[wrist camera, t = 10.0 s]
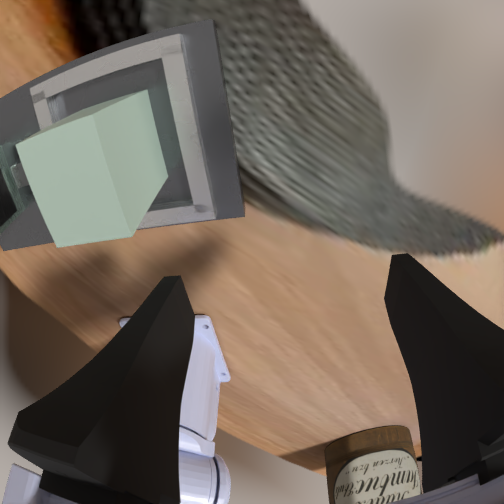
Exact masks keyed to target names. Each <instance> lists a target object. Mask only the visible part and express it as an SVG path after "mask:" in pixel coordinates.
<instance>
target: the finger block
mask: <svg viewBox="0 0 504 504" xmlns="http://www.w3.org/2000/svg"><path fill="white" fill-rule="evenodd" d="M16 148H17V151H18V154H19V157H20V160H21V163H22V166H23V169H24V171H25V174H26V177H27V179H28V182H29V185H30V187H31V190H32V192H33V195H34V197H35V200H36V202H37V204H38V207H39V209H40V211H41V214H42V216H43V218H44V220H45V223H46V225H47V227H48V229H49V231H50V234H51V236H52V238H53V240H54V242H55V244H56V246H57V248H59V247H65V246H72V245H79V244H86V243H92V242H99V241H106V240H114V239H121V238H128V237H132V236H133V235H134V233H135V231H136V229H137V228H138V226H139V224H140V222H141V221H142V219H143V217H144V216H145V214H146V212H147V210H148V209H149V207H150V205H151V204H152V202H153V200H154V199H155V197H156V196H157V194H158V192H159V191H160V189H161V187H162V186H163V184H164V183H165V181H166V179H167V178H168V174H167V170H166V166H165V162H164V158H163V154H162V150H161V146H160V142H159V138H158V134H157V130H156V126H155V121H154V117H153V113H152V108H151V104H150V99H149V95H148V90H143V91H139V92H136V93H132V94H129V95H125V96H122V97H119V98H115V99H112V100H109V101H106V102H103V103H100V104H97V105H94V106H91V107H88V108H85V109H82V110H80V111H78V112H76V113H74V114H72V115H70V116H68V117H66V118H64V119H62V120H60V121H58V122H56V123H54V124H52V125H50V126H48V127H46V128H44V129H42V130H40V131H39V132H37V133H35V134H33V135H31V136H30V137H28V138H26V139H24V140H23V141H21V142H19V143H18V144H16Z"/></svg>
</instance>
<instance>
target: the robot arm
mask: <svg viewBox="0 0 504 504" xmlns="http://www.w3.org/2000/svg"><path fill="white" fill-rule="evenodd" d="M384 300H385V304H386V308H387V313H388V316H389V320H390V324H391V327H392V329H393V332H394V335H395V337H396V340H397V343H398V346H399V348H400V351H401V354H402V356H403V359H404V362H405V365H406V368H407V371H408V373H409V377H410V380H411V384H412V388H413V393H414V398H415V403H416V408H417V415H418V422H419V429H420V439H421V450H422V487H423V492H424V493H423V494H420V495H417V496H413V497H410V498H406V499H403V500H399V501H395V502H391V503H387V504H504V330H503V329H502V328H500V327H499V326H497V325H496V324H494V323H493V322H491V321H490V320H488V319H487V318H486V317H484V316H483V315H481V314H480V313H479V312H477V311H476V310H475V309H473V308H472V307H471V306H469V305H468V304H467V303H466V302H465V301H463V300H462V299H461V298H459V297H458V296H457V295H456V294H455V293H454V292H452V291H451V290H450V289H449V288H448V287H446V286H445V285H444V284H443V283H442V282H441V281H440V280H438V279H437V278H436V277H435V276H434V275H433V274H432V273H430V272H429V271H428V270H427V269H426V268H425V267H424V266H422V265H421V264H420V263H419V262H418V261H417V260H415V259H414V258H413V257H412V256H410V255H409V254H408V253H406V254H397V255H392V257H391V263H390V269H389V275H388V281H387V286H386V292H385V297H384ZM119 324H120V326H121V328H122V329H121V330H120V331H119V332H118V333H117V334H116V335H115V337H114V338H113V339H112V340H111V341H110V342H109V343H108V344H107V345H106V346H105V347H104V348H103V349H102V350H101V351H100V352H99V353H98V354H97V355H96V356H95V357H94V358H93V359H92V360H91V361H90V362H89V363H88V364H86V365H85V366H84V367H83V368H82V369H80V370H79V371H78V372H77V373H76V374H75V375H73V376H72V377H71V378H70V379H69V380H67V381H66V382H65V383H63V384H62V385H61V386H59V387H58V388H56V389H55V390H54V391H52V392H51V393H49V394H48V395H46V396H45V397H43V398H42V399H40V400H38V401H37V402H35V403H33V404H32V405H30V406H28V407H26V408H25V409H23V410H21V411H19V412H18V415H17V418H16V421H15V423H14V426H13V430H12V432H11V435H10V438H9V441H8V445H9V447H10V448H11V449H12V450H13V451H15V452H16V453H17V454H19V455H20V456H22V457H23V458H25V459H27V460H28V461H30V462H32V463H33V464H35V465H36V466H38V467H40V468H42V469H43V473H42V476H41V475H39V474H37V473H35V472H32V471H30V470H28V469H25V468H23V467H21V466H19V465H17V464H12V467H11V470H10V474H9V477H8V481H7V485H6V489H5V493H4V497H3V502H2V504H228V501H229V497H230V487H231V485H230V484H231V483H230V482H231V481H230V474H229V470H228V468H227V466H226V464H225V462H224V460H223V458H222V457H221V456H220V455H218V454H215V453H214V449H215V442H212V440H213V438H214V436H215V433H216V426H217V414H218V402H219V391H220V382H228V381H230V374H229V371H228V368H227V365H226V362H225V360H224V357H223V354H222V351H221V348H220V345H219V342H218V339H217V336H216V333H215V330H214V327H213V324H212V321H211V319H210V317H209V316H206V315H194V312H193V309H192V307H191V304H190V301H189V298H188V295H187V293H186V290H185V287H184V284H183V281H182V278H181V275H180V276H168V277H164V278H163V279H162V280H161V281H160V282H159V283H158V285H157V286H156V287H155V288H154V290H153V291H152V292H151V293H150V295H149V296H148V297H147V299H146V300H145V301H144V302H143V303H142V305H141V306H140V307H139V308H138V310H137V311H136V312H135V313H134V315H133V316H132V317H131V318H122V319H121V320H120V323H119Z"/></svg>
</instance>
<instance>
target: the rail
mask: <svg viewBox="0 0 504 504" xmlns="http://www.w3.org/2000/svg"><path fill="white" fill-rule="evenodd" d="M143 90H148V95H149V99H150V104H151V108H152V113H153V117H154V121H155V126H156V130H157V134H158V138H159V142H160V146H161V150H162V154H163V158H164V162H165V166H166V170H167V174H168V178H167V179H166V181H165V183H164V184H163V186H162V187H161V189H160V191H159V192H158V194H157V196H156V197H155V199H154V200H153V202H152V204H151V205H150V207H149V209H148V210H147V212H146V214H145V216H144V217H143V219H142V221H141V222H140V224H139V226H138V228H137V229H136V230H140V229H147V228H155V227H162V226H170V225H178V224H186V223H194V222H202V221H211V220H219V219H228V218H237V217H245V203H244V197H243V191H242V185H241V178H240V172H239V166H238V160H237V154H236V147H235V141H234V135H233V129H232V123H231V117H230V110H229V104H228V98H227V92H226V86H225V79H224V73H223V67H222V61H221V55H220V49H219V42H218V36H217V30H216V24H215V21H214V20H213V19H210V20H204V21H199V22H194V23H190V24H185V25H181V26H176V27H172V28H168V29H164V30H160V31H157V32H153V33H150V34H146V35H143V36H139V37H136V38H133V39H130V40H127V41H124V42H121V43H118V44H115V45H112V46H109V47H106V48H104V49H101V50H98V51H96V52H93V53H91V54H88V55H86V56H83V57H81V58H78V59H76V60H74V61H71V62H69V63H67V64H65V65H62V66H60V67H58V68H56V69H54V70H52V71H50V72H48V73H46V74H44V75H42V76H40V77H38V78H36V79H34V80H32V81H30V82H28V83H26V84H24V85H23V86H21V87H19V88H17V89H15V90H14V91H12V92H10V93H9V94H7V95H5V96H4V97H2V98H0V245H1V247H2V249H3V251H7V250H12V249H18V248H23V247H29V246H35V245H41V244H47V243H53V242H54V240H53V238H52V236H51V234H50V231H49V229H48V227H47V225H46V223H45V220H44V218H43V216H42V214H41V211H40V209H39V207H38V204H37V202H36V200H35V197H34V195H33V192H32V190H31V187H30V185H29V182H28V179H27V177H26V174H25V171H24V169H23V166H22V163H21V160H20V157H19V154H18V151H17V148H16V144H18V143H19V142H21V141H23V140H24V139H26V138H28V137H30V136H31V135H33V134H35V133H37V132H39V131H40V130H42V129H44V128H46V127H48V126H50V125H52V124H54V123H56V122H58V121H60V120H62V119H64V118H66V117H68V116H70V115H72V114H74V113H76V112H78V111H80V110H82V109H85V108H88V107H91V106H94V105H97V104H100V103H103V102H106V101H109V100H112V99H115V98H119V97H122V96H125V95H129V94H132V93H136V92H139V91H143Z"/></svg>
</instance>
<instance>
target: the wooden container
mask: <svg viewBox="0 0 504 504" xmlns="http://www.w3.org/2000/svg"><path fill="white" fill-rule="evenodd" d="M325 461H326V474H327V485H328V495H329V503H330V504H387V503H391V502H395V501H399V500H403V499H406V498H410V497H413V496H417V495H420V494H422V492H421V485H420V478H419V472H418V466H417V460H416V456H415V451H414V448H413V443H412V438H411V434H410V431H409V429H408V428H407V427H404V426H385V427H379V428H373V429H369V430H365V431H361V432H358V433H355V434H351V435H349V436H346V437H344V438H341V439H339V440H337V441H335V442H333V443H332V444H330V445H329V446H328V447H327V448H326V449H325Z"/></svg>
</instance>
